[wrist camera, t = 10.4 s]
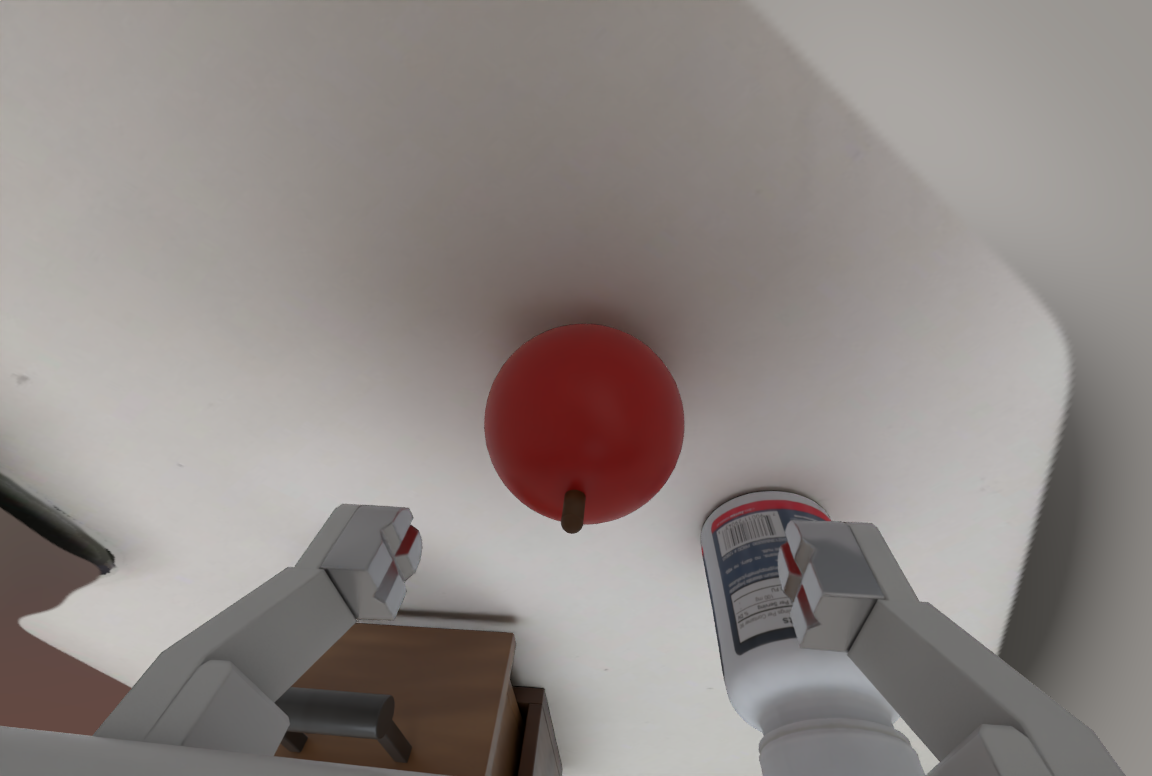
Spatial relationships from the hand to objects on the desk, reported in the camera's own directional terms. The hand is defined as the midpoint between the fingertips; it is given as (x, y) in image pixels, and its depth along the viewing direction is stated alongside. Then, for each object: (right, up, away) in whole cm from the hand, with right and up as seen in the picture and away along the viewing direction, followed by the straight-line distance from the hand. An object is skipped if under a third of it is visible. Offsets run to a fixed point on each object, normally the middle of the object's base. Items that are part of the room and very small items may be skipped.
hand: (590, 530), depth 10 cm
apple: (0, +2, +3) cm, 4 cm away
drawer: (-10, -14, +17) cm, 24 cm away
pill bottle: (+8, -3, +9) cm, 12 cm away
